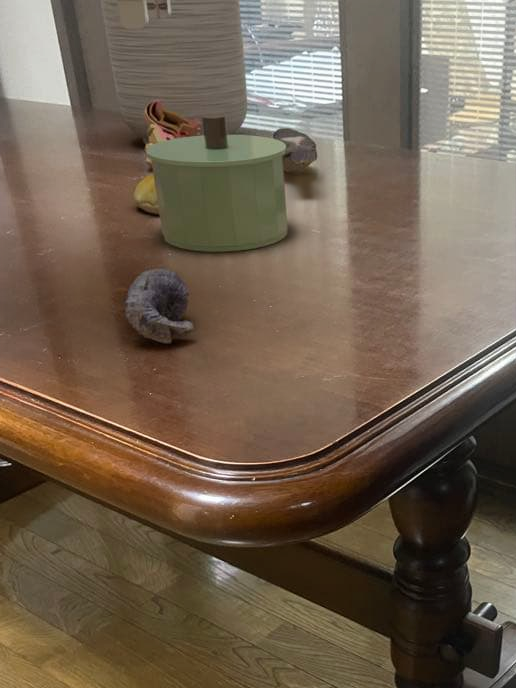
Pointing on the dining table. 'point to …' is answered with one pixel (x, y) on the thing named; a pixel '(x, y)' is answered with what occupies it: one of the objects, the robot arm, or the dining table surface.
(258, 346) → the dining table surface
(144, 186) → the bread roll
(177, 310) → the seashell
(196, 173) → the pot
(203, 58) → the vase
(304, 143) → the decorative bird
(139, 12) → the robot arm
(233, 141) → the pot lid
